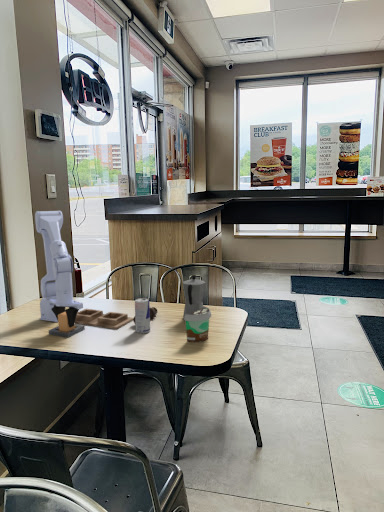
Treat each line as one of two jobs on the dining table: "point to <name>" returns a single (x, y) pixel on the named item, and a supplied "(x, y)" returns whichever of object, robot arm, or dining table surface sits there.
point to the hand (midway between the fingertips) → (66, 325)
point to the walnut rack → (102, 319)
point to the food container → (198, 325)
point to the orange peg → (64, 322)
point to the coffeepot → (193, 295)
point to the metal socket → (66, 334)
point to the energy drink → (142, 315)
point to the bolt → (152, 313)
